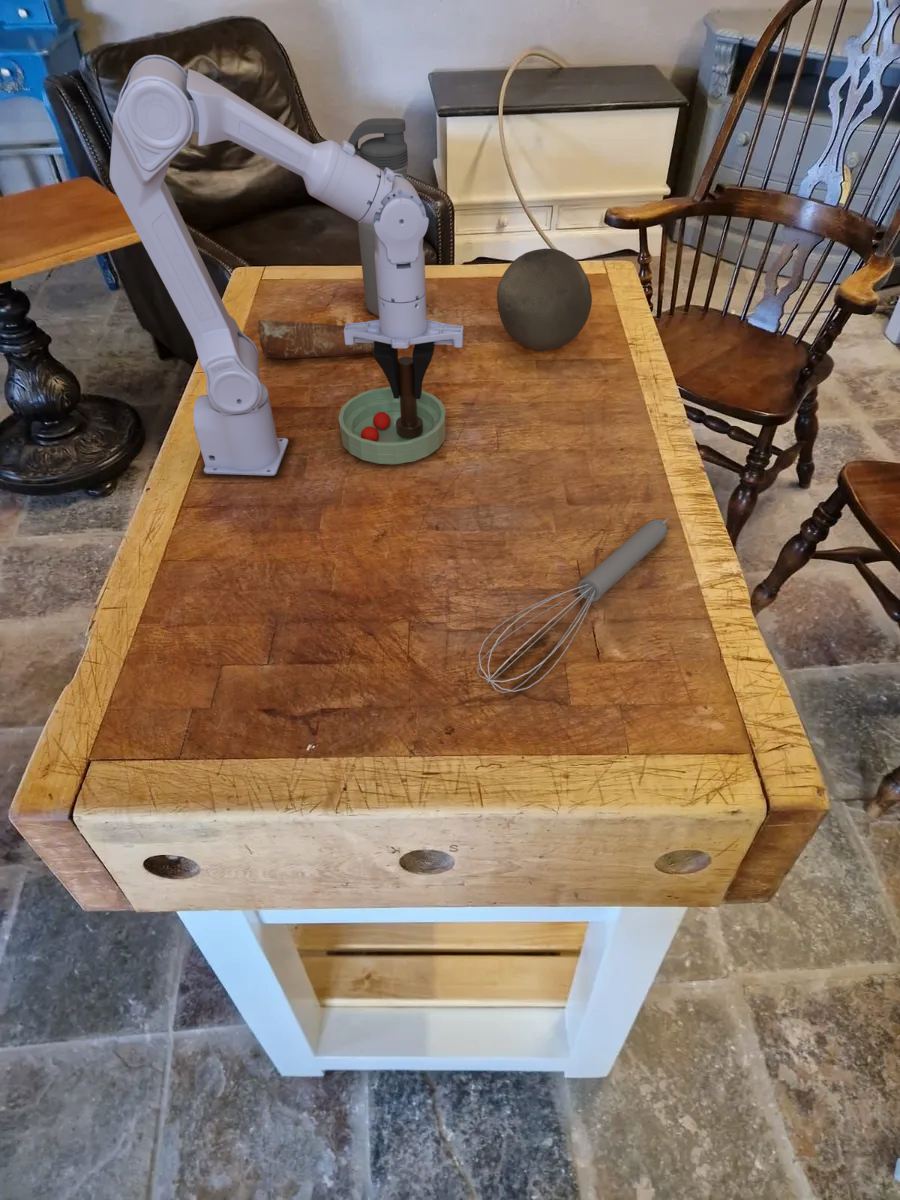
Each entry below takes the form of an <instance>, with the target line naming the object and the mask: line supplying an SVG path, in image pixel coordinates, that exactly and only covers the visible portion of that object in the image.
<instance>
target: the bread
mask: <svg viewBox="0 0 900 1200" xmlns="http://www.w3.org/2000/svg"><path fill="white" fill-rule="evenodd" d="M257 325H258V329H257V332H258V335H259V343H260V347H261V350H262V354H263V355H264V356H265V357H266V358H270V359H280V360H293V359H309V358H322V357H323V358H324V357H342V356H351V355H352V356H353V355H365V354H373V352H374V343H361V342H355V343H354V344H353V345H346V344H345V338H344V328H345V325H338V324H330V323H329V324H328V323H319V322H317V323H315V322H301V321H289V320H265V319H259V320H258V322H257Z"/></svg>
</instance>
